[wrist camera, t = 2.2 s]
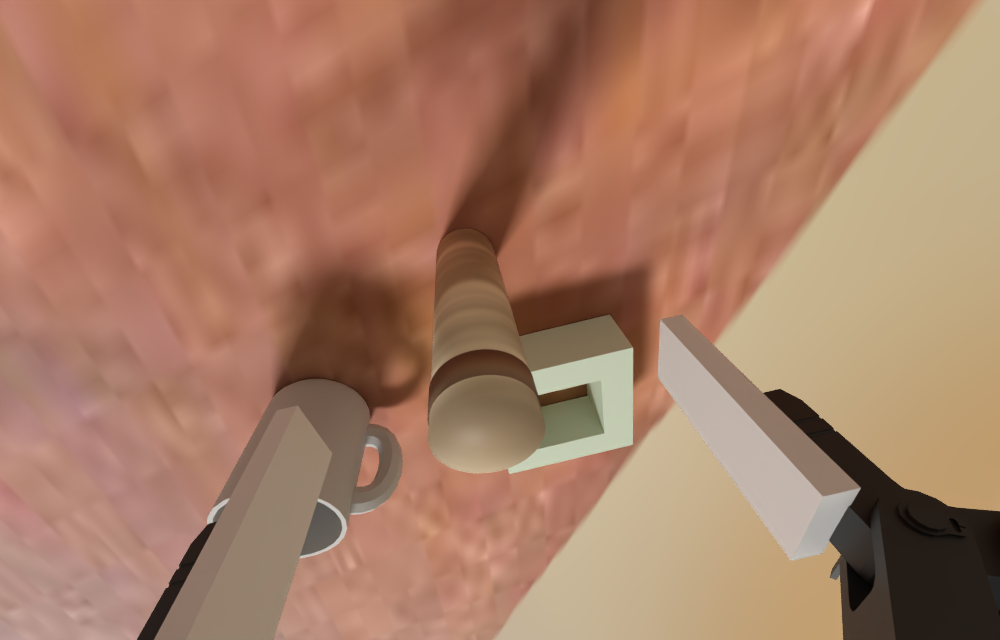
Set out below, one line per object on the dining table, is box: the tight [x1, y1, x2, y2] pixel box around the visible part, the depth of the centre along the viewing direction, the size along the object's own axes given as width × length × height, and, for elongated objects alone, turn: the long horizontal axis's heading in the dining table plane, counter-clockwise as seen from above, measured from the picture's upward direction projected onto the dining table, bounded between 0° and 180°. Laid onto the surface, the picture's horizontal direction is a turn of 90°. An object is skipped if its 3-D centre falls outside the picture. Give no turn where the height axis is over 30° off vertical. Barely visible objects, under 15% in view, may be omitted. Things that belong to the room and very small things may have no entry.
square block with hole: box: [508, 314, 633, 474], centre depth 28 cm, size 10×10×4 cm
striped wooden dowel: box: [428, 228, 545, 473], centre depth 17 cm, size 4×4×14 cm
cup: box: [207, 379, 403, 558], centre depth 25 cm, size 7×10×9 cm
